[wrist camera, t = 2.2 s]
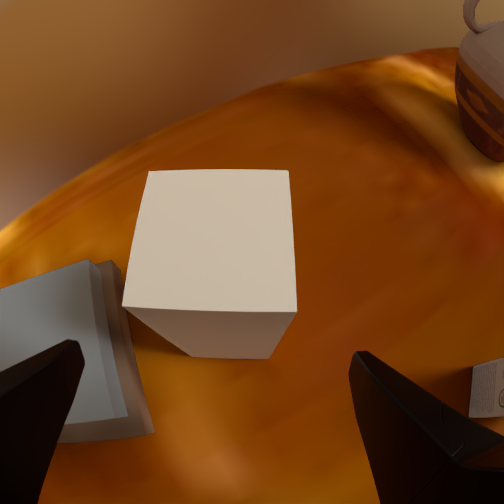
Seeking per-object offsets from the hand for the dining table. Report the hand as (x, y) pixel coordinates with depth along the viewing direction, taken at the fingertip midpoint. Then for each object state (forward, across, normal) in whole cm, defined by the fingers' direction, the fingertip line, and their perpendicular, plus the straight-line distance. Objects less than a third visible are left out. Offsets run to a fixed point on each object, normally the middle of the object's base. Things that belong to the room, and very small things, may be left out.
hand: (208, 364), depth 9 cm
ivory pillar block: (+10, 0, +5) cm, 11 cm away
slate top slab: (+6, +12, +6) cm, 15 cm away
